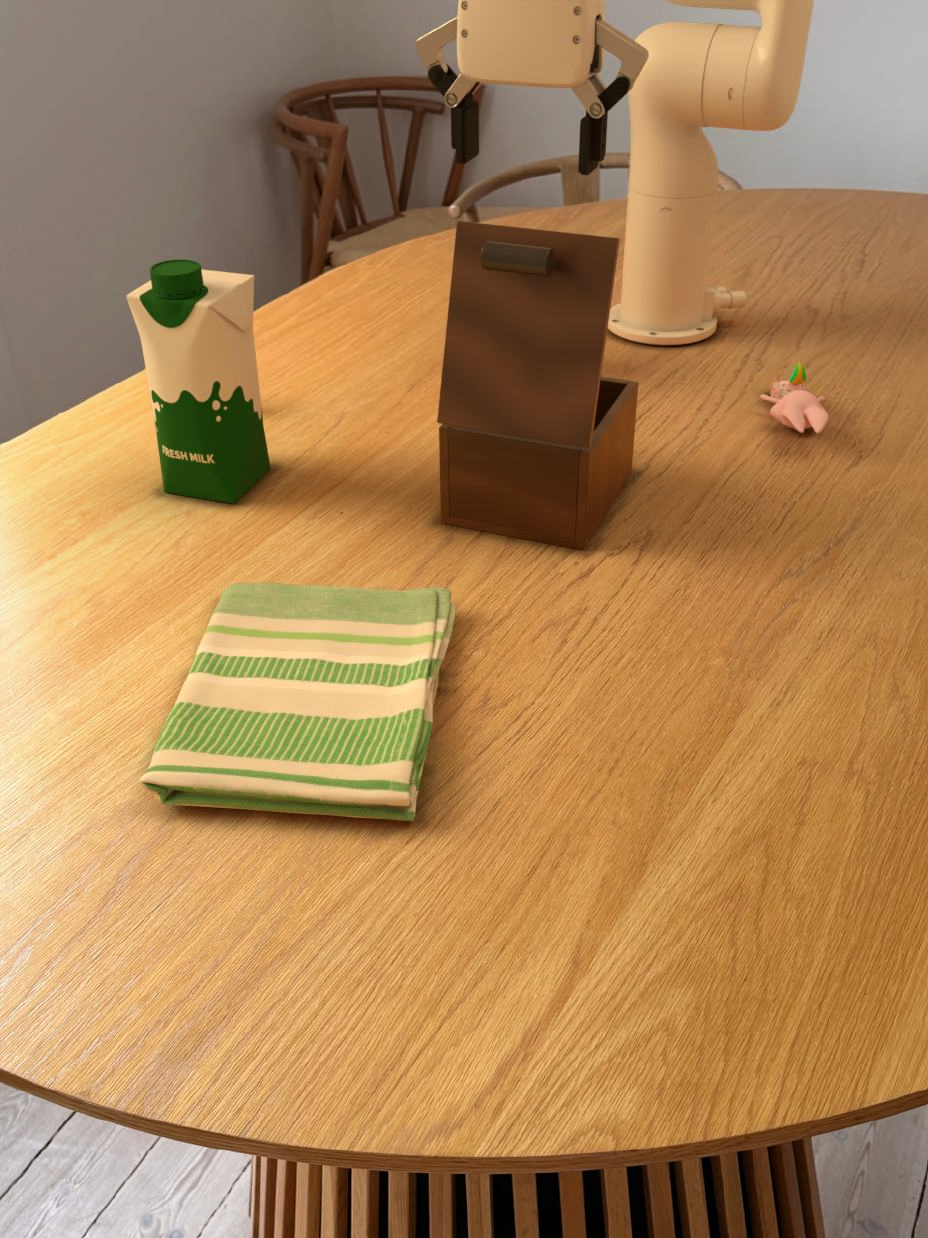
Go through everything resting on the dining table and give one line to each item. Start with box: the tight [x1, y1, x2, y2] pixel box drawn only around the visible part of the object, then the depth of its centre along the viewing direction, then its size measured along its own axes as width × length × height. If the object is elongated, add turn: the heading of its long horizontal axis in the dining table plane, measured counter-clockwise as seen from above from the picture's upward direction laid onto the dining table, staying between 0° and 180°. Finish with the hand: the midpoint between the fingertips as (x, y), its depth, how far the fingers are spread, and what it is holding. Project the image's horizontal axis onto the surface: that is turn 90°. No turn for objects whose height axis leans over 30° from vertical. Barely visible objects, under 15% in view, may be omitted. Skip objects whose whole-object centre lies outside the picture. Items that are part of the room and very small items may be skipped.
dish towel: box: [139, 581, 457, 822], centre depth 81 cm, size 18×23×3 cm
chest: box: [438, 376, 639, 551], centre depth 103 cm, size 15×13×9 cm
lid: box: [436, 220, 621, 448], centre depth 91 cm, size 15×13×5 cm
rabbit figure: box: [759, 362, 830, 434], centre depth 116 cm, size 6×6×15 cm
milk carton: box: [126, 258, 272, 505], centre depth 103 cm, size 9×9×20 cm
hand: (527, 164), depth 92 cm, fingers open, 9 cm apart
